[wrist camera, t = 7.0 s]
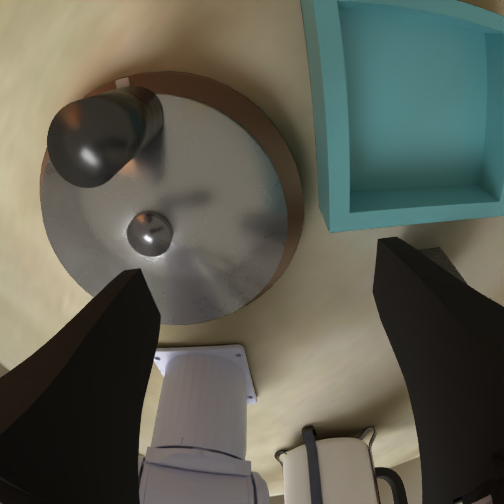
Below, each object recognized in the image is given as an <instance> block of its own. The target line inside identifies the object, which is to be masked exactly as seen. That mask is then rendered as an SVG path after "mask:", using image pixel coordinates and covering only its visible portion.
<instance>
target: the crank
mask: <svg viewBox="0 0 504 504" xmlns="http://www.w3.org/2000/svg"><path fill="white" fill-rule="evenodd" d="M47 148H48V154H49V161H48V163H47V166H46V169H45V173H44V177H43V181H42V191H41V208H42V215H43V222H44V226H45V229H46V233H47V236H48V239H49V241H50V243H51V246H52V248H53V250H54V252H55V254H56V255H57V257H58V259H59V261H60V262H61V264H62V265H63V266H64V268H65V269H66V271H67V272H68V273H69V274H70V276H71V277H72V278H73V279H74V280H75V281H76V282H77V283H78V284H79V285H80V286H81V287H82V288H83V289H84V290H85V291H86V292H88V293H89V294H90V295H92V296H93V297H95V296H96V295H97V294H98V293H99V292H100V291H101V290H102V289H103V288H104V287H105V286H106V285H107V284H108V283H109V282H111V281H112V280H113V279H114V278H115V277H116V276H117V275H118V274H120V273H121V272H122V271H124V270H130V269H138V268H141V270H142V273H143V275H144V278H145V280H146V282H147V285H148V287H149V289H150V292H151V294H152V296H153V299H154V301H155V303H156V305H157V308H158V310H159V312H160V314H161V322H160V324H167V325H189V324H196V323H203V322H207V321H211V320H215V319H217V318H220V317H223V316H226V315H228V314H230V313H232V312H234V311H236V310H238V309H239V308H241V307H242V306H244V305H245V304H247V303H248V302H250V301H251V300H252V299H253V298H254V297H255V296H257V295H258V294H259V293H260V292H261V291H262V289H263V288H264V287H265V286H266V285H267V284H268V283H269V281H270V279H271V278H272V276H273V275H274V273H275V272H276V270H277V268H278V265H279V263H280V261H281V259H282V256H283V252H284V248H285V245H286V238H287V230H288V221H287V208H286V203H285V198H284V193H283V189H282V185H281V182H280V179H279V176H278V174H277V171H276V169H275V167H274V165H273V163H272V161H271V159H270V157H269V156H268V154H267V153H266V151H265V150H264V148H263V147H262V146H261V144H260V143H259V142H258V140H257V139H256V138H255V137H254V136H253V135H252V134H251V133H250V132H249V131H248V130H247V129H246V128H245V127H244V126H243V125H242V124H241V123H239V122H238V121H237V120H235V119H234V118H233V117H231V116H230V115H229V114H227V113H225V112H224V111H222V110H220V109H218V108H216V107H215V106H213V105H211V104H208V103H206V102H203V101H200V100H198V99H195V98H192V97H188V96H183V95H179V94H173V93H159V92H152V91H151V90H149V89H147V88H145V87H142V86H137V85H132V86H127V87H123V88H119V89H115V90H111V91H108V92H104V93H101V94H97V95H94V96H91V97H87V98H84V99H81V100H78V101H75V102H72V103H70V104H68V105H66V106H65V107H63V108H62V109H61V110H60V111H59V112H58V113H57V114H56V115H55V117H54V119H53V120H52V122H51V125H50V127H49V131H48V136H47Z"/></svg>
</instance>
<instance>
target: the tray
mask: <svg viewBox="0 0 504 504" xmlns="http://www.w3.org/2000/svg"><path fill="white" fill-rule="evenodd" d="M300 3H301V10H302V16H303V24H304V31H305V39H306V46H307V55H308V63H309V73H310V82H311V92H312V103H313V115H314V128H315V142H316V158H317V177H318V200H319V208H320V211H321V213H322V215H323V218H324V220H325V223H326V225H327V227H328V230H329V232H330V233H333V232H343V231H352V230H362V229H372V228H382V227H392V226H402V225H412V224H422V223H433V222H443V221H454V220H465V219H475V218H486V217H498V216H504V16H501V15H499V14H496V13H494V12H491V11H488V10H485V9H482V8H480V7H477V6H474V5H470V4H467V3H464V2H461V1H457V0H300Z"/></svg>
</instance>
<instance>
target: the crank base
mask: <svg viewBox="0 0 504 504" xmlns="http://www.w3.org/2000/svg"><path fill="white" fill-rule="evenodd" d="M132 85H137V86H142V87H145V88H147V89H149V90H151V91H152V92H159V93H173V94H179V95H183V96H188V97H192V98H195V99H198V100H200V101H203V102H206V103H208V104H211V105H213V106H215V107H216V108H218V109H220V110H222V111H224V112H225V113H227V114H229V115H230V116H231V117H233V118H234V119H235V120H237V121H238V122H239V123H241V124H242V125H243V126H244V127H245V128H246V129H247V130H248V131H249V132H250V133H251V134H252V135H253V136H254V137H255V138H256V139H257V140H258V142H259V143H260V144H261V146H262V147H263V148H264V150H265V151H266V153H267V154H268V156H269V157H270V159H271V161H272V163H273V165H274V167H275V169H276V171H277V174H278V176H279V179H280V182H281V185H282V189H283V193H284V198H285V203H286V208H287V221H288V230H287V238H286V245H285V248H284V252H283V256H282V259H281V261H280V263H279V265H278V268H277V270H276V272H275V273H274V275H273V276H272V278H271V279H270V281H269V283H268V284H267V285H266V286H265V287H264V288H263V289H262V291H261V292H260V293H259V294H258V295H257V296H255V297H254V298H253V299H252V300H251V301H250V302H248V303H247V304H245V305H244V306H246V305H248V304H249V303H251V302H252V301H254V300H256V299H257V298H259V297H260V296H261V295H262V294H264V293H265V292H266V291H267V290H268V289H270V288H271V286H272V285H273V284H274V283H275V282H276V281H277V280H278V279H279V278H280V277H281V275H282V274H283V272H284V271H285V269H286V268H287V266H288V265H289V263H290V261H291V259H292V257H293V255H294V253H295V251H296V248H297V245H298V242H299V239H300V236H301V231H302V225H303V219H304V199H303V192H302V185H301V180H300V177H299V173H298V170H297V167H296V164H295V161H294V159H293V157H292V154H291V152H290V150H289V148H288V146H287V144H286V142H285V140H284V138H283V137H282V135H281V134H280V132H279V131H278V129H277V128H276V126H275V125H274V124H273V123H272V121H271V120H270V119H269V118H268V117H267V116H266V115H265V114H264V113H263V111H262V110H261V109H260V108H258V107H257V106H256V105H255V104H254V103H252V102H251V101H250V100H249V99H247V98H246V97H245V96H243V95H242V94H240V93H238V92H237V91H235V90H233V89H232V88H230V87H228V86H226V85H224V84H222V83H219V82H217V81H215V80H212V79H210V78H206V77H203V76H199V75H195V74H190V73H183V72H172V71H163V72H148V73H141V74H136V75H132V76H128V77H123V78H120V79H118V80H115V81H113V82H110V83H108V84H105V85H103V86H101V87H100V88H98V89H96V90H95V91H93V92H91V93H90V94H88V95H87V96H86V97H84V98H87V97H91V96H94V95H97V94H101V93H104V92H108V91H111V90H115V89H119V88H123V87H127V86H132ZM84 98H83V99H84ZM48 161H49V154H48V148H47V149H46V152H45V155H44V159H43V162H42V168H41V175H40V201H41V191H42V181H43V177H44V173H45V169H46V166H47V163H48ZM41 209H42V208H41ZM244 306H242V307H244ZM242 307H241V308H242ZM239 309H240V308H239Z"/></svg>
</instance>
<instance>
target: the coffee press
mask: <svg viewBox="0 0 504 504" xmlns="http://www.w3.org/2000/svg"><path fill="white" fill-rule="evenodd" d="M370 430H373V431H374V433H373V436H372V438H371V440H370V442H369V448H368V445H367V444H366V443H365V442H364V441H362V439H363V438H364V437H365V435H366V434H367V433H368V432H369V431H370ZM376 434H377V433H376V431H375V429H374V428H373V427H367V428H366V429H365V430H364V432H363V433H362V434H361V435H360V436H359V437H358V438H350V437H339V438H329V439H323V440H320V439H319V438H318V436H317V434H316V431H315V428H314V427H313V426H311V427H308V428H304V429H302V436H303V439H304V442H305V444H304V445H301V446H298V447H296V448H294V449H293V450H291V451H290V452H288V453H285V452H283V451H281V450H280V451H277V452H276V453H275V458H276V459H277V460H278V461H279V462H280V464H281V465H282V468H283V480H284V501H285V504H381V503H380V496H379V490H378V485H377V479H376V478H382V479H384V480H386V481H387V482H388V483H389V485H390V486H391V489H392V493H393V498H394V504H408V502H407V497H406V492H405V488H404V485H403V482H402V480H401V478H400V477H399V475H398V474H397V473H396V472H395V471H393V470H391V469H389V468H384V467H376V468H374V462H373V457H372V451H371V446H372V443H373V441H374V439H375V437H376ZM283 453H285V454H287V455H286V456H285V457H284V460H283V462H281V461H280V459H279V456H280V455H281V454H283Z"/></svg>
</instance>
